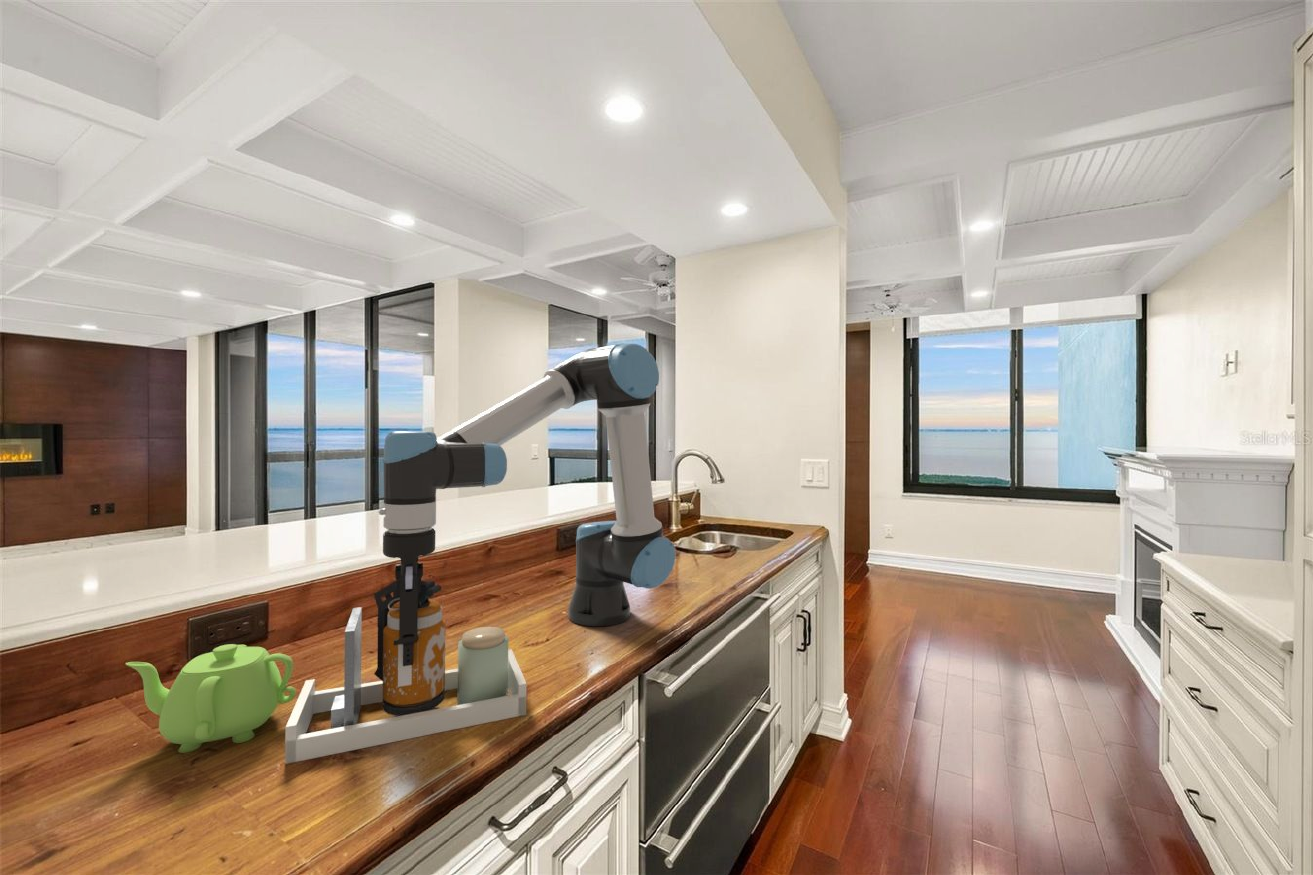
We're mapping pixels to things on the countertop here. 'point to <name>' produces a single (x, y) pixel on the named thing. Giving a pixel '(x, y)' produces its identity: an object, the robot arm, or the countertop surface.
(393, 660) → the canister
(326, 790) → the countertop surface
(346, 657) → the panel
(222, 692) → the teapot
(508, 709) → the white rectangular frame
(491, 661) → the jar
